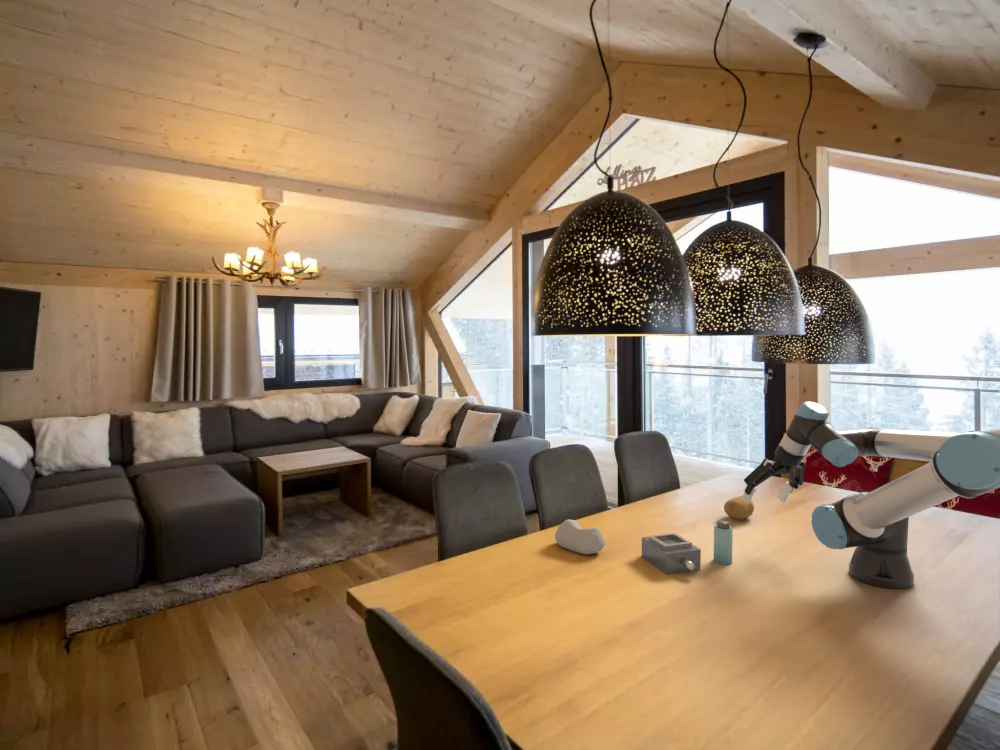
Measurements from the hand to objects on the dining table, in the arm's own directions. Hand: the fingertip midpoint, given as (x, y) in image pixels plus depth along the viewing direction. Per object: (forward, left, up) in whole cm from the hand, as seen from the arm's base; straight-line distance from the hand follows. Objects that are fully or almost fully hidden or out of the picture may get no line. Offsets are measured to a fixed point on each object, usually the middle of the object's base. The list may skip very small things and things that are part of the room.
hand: (763, 500), depth 181 cm
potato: (+26, -13, -16) cm, 33 cm away
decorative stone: (+17, +55, -16) cm, 60 cm away
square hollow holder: (-2, +35, -15) cm, 38 cm away
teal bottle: (-6, +19, -15) cm, 25 cm away
